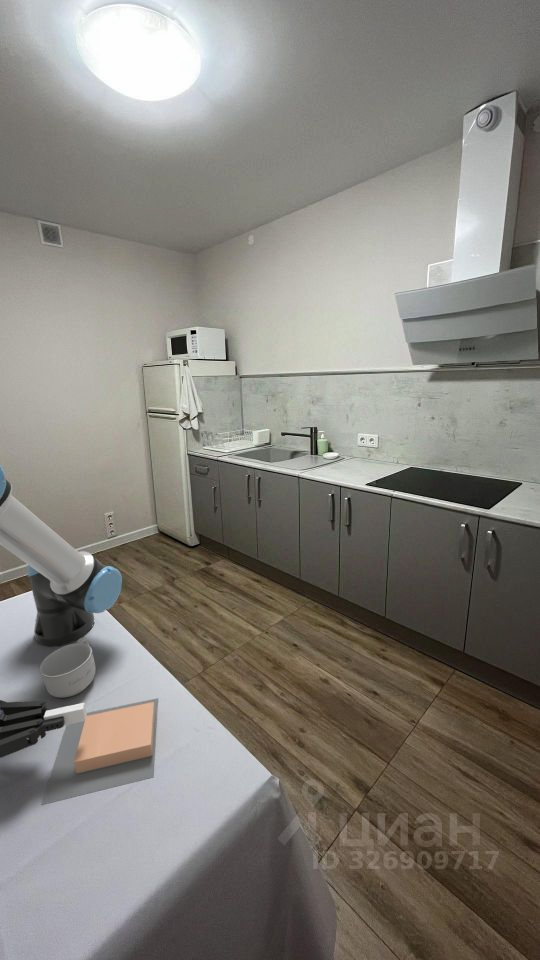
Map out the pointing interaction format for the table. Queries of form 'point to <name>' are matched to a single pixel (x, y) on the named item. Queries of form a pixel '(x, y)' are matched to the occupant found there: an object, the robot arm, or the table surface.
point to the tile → (116, 737)
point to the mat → (76, 784)
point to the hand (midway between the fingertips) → (84, 711)
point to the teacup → (68, 669)
